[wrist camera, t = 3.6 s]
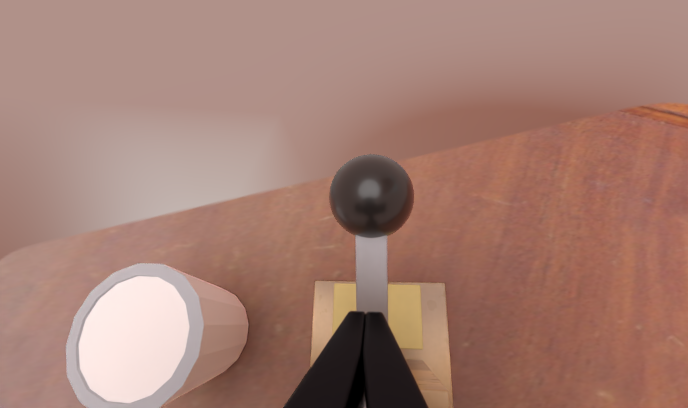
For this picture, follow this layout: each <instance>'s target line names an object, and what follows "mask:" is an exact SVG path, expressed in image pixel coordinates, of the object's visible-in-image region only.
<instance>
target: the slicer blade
mask: <svg viewBox="0 0 688 408" xmlns="http://www.w3.org/2000/svg"><path fill="white" fill-rule="evenodd" d="M329 200H330V206H331V210H332V213H333V215H334V217H335V219H336V220H337V222H338V223H339V224H340V225H341V226H342V227H343V228H344V229H345V230H346V231H348V232H349V233H351V234H353V235H355V247H356V311H364V312H365V313H367V312H368V311H374V312H382V313H383V314H384V316H385V318H386V320H387V322H388V260H387V236H388V235H390V234H393V233H394V232H396V231H397V230H398V229H399V228H401V227H402V226H403V224H404V223H405V222H406V221H407V219H408V218H409V216H410V214H411V211H412V208H413V203H414V190H413V185H412V182H411V180H410V178H409V176H408V174H407V173H406V171H405V170H404V169H403V168H402V167H401V166H400V165H399V164H398V163H397V162H395V161H393V160H392V159H390V158H387V157H384V156H381V155H371V154H370V155H363V156H359V157H356V158H354V159H352V160H350V161H348V162H347V163H346V164H344V165H343V166H342V167H341V168H340V169H339V171H338V172H337V174H336V175H335V177H334V179H333V181H332V184H331V187H330V193H329ZM365 408H366V405H365Z"/></svg>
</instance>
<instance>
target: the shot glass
mask: <svg viewBox="0 0 688 408" xmlns="http://www.w3.org/2000/svg"><path fill="white" fill-rule="evenodd" d="M248 327H249V323H248V319H247V314H246V310H245V307H244V306H243V305H242V303H241V302H240V300H239V299H238V298H237V296H236V295H234V294H232V293H230V292H229V291H227V290H225V289H223V288H221V287H218V286H216V285H213V284H211V283H208V282H206V281H204V280H201V279H199V278H196V277H194V276H191V275H189V274H186V273H184V272H182V271H179V270H177V269H174V268H172V267H169V266H167V265H164V264H149V263H138V264H135V265H132V266H130V267H127V268H124V269H122V270H119V271H116V272H114V273H113V274H111V275H110V276H109V277H108V278H107V279H105V280H104V281H103V282H102V283H100V284H99V285H98V286H97V287H96V288H94V289H93V290H92V291H91V292H90V294H89V295H88V297H87V298H86V300H85V302H84V303H83V305H82V306H81V308H80V309H79V311H78V312H77V314H76V315H75V317H74V320H73V324H72V327H71V330H70V334H69V337H68V341H67V344H66V363H67V377H68V379H69V381H70V384H71V386H72V388H73V390H74V392H75V394H76V396H77V398H78V400H79V402H80V403H82V404H83V405H84V406H86V407H87V408H161V407H162V406H164V405H166V404H168V403H170V402H171V401H173V400H175V399H177V398H179V397H180V396H182V395H184V394H186V393H187V392H189V391H191V390H193V389H195V388H196V387H198V386H200V385H202V384H204V383H205V382H207V381H209V380H211V379H212V378H214V377H216V376H218V375H220V374H221V373H223V372H225V371H226V370H227V369H228V368H229V367H230V366H231V365H232V364H233V363H234V362H235V361H237V360H238V358H239V356H240V354H241V352H242V350H243V348H244V346H245V344H246V342H247V335H248Z"/></svg>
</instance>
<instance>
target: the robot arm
mask: <svg viewBox="0 0 688 408" xmlns="http://www.w3.org/2000/svg"><path fill="white" fill-rule="evenodd" d="M365 405H366V408H429V407H428V405H427V403H426V401H425V399H424V397H423V395H422V393H421V391H420V389H419V387H418V384H417V382H416V380H415V378H414V376H413V374H412V372H411V370H410V368H409V366H408V364H407V362H406V360H405V358H404V355H403V353H402V351H401V349H400V347H399V345H398V343H397V341H396V339H395V337H394V335H393V333H392V331H391V329H390V326H389V324H388V322H387V320H386V318H385V316H384V314H383V313H382V312H374V311H368V312H367V313H365V312H364V311H350V312H348V314H347V315H346V316H345V318H344V319H343V321H342V322H341V324H340V325H339V327H338V328H337V330H336V331H335V333H334V334H333V335H332V337H331V338H330V340H329V341H328V343H327V344H326V346H325V347H324V349H323V350H322V352H321V353H320V355H319V356H318V357H317V359H316V360H315V362H314V363H313V365H312V366H311V368H310V369H309V371H308V372H307V374H306V375H305V376H304V378H303V379H302V381H301V382H300V384H299V385H298V387H297V388H296V390H295V391H294V393H293V394H292V395H291V397H290V398H289V400H288V401H287V403H286V404H285V406H284V407H283V408H365Z"/></svg>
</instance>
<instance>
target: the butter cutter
mask: <svg viewBox="0 0 688 408" xmlns="http://www.w3.org/2000/svg"><path fill="white" fill-rule="evenodd" d="M335 283H341V284H356V281H320V280H316V281H315V287H314V305H313V323H312V340H311V358H310V368H311V366H312V365H313V363H314V362H315V360H316V359H317V357H318V356H319V355H320V353H321V352H322V350H323V349H324V347H325V346H326V344H327V343H328V341H329V340H330V338H331V337H332V326H333V300H334V284H335ZM388 284H394V285H420V286H421V309H422V333H423V349H422V350H419V349H401V351H402V353H403V355H404V358H405V360H406V362H407V364H408V366H409V368H410V370H411V372H412V374H413V376H414V378H415V380H416V382H417V384H418V387H419V389H420V391H421V393H422V395H423V397H424V399H425V401H426V403H427V405H428V407H429V408H453V395H452V380H451V364H450V349H449V334H448V319H447V304H446V288H445V283H433V282H388Z"/></svg>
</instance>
